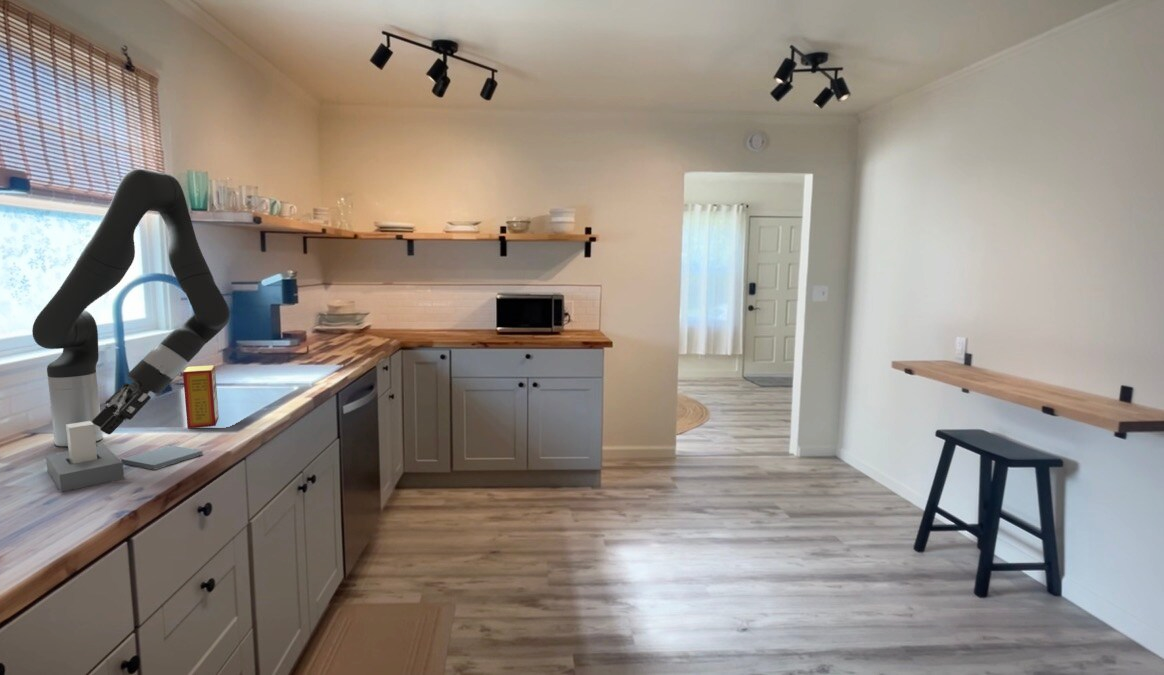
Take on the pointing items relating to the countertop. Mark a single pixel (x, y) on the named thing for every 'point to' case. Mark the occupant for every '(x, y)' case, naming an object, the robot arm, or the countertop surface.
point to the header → (84, 469)
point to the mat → (161, 457)
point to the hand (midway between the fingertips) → (100, 428)
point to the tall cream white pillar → (81, 442)
